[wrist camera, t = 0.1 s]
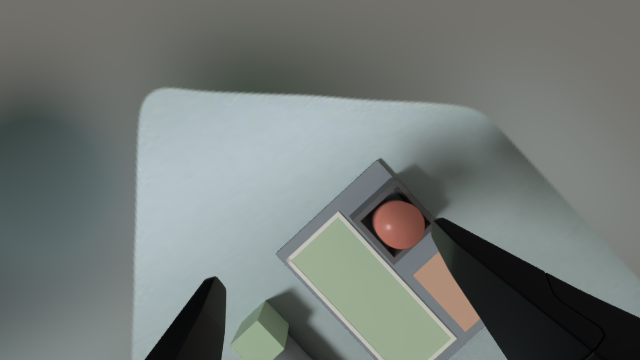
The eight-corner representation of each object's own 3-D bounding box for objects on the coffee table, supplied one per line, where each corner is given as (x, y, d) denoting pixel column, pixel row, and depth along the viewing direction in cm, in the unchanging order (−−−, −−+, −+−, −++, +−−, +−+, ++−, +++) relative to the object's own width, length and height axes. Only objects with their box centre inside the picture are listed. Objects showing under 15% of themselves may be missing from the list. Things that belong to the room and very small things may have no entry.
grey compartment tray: (504, 300, 25) (530, 318, 22) (406, 389, 25) (418, 419, 22) (375, 160, 24) (383, 158, 21) (276, 252, 25) (270, 263, 22)
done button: (421, 220, 23) (434, 226, 20) (390, 248, 23) (399, 258, 20) (393, 190, 23) (402, 192, 20) (362, 218, 23) (367, 224, 20)
